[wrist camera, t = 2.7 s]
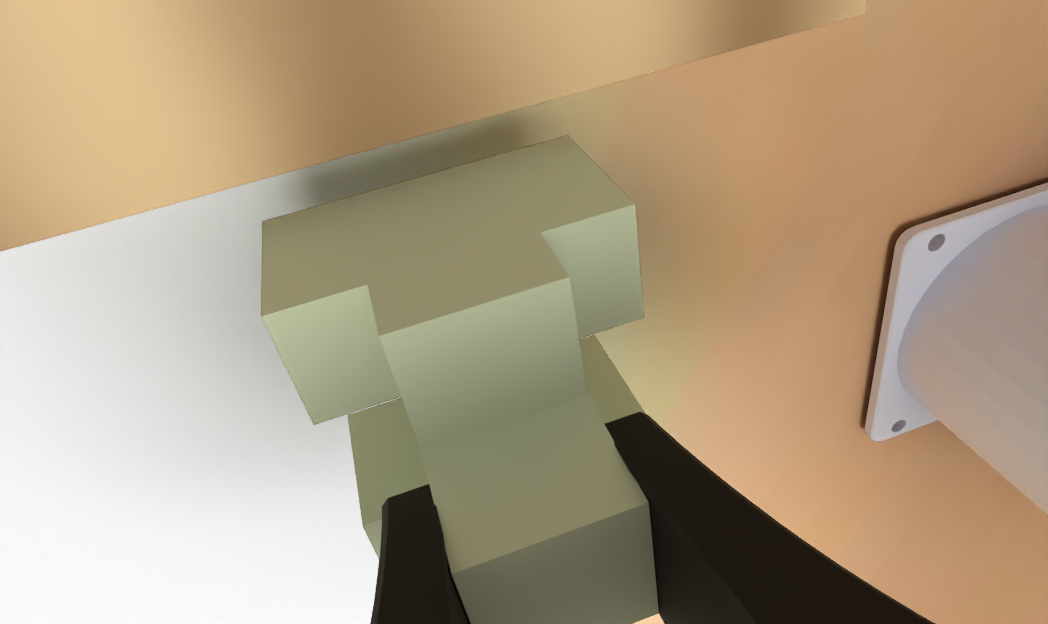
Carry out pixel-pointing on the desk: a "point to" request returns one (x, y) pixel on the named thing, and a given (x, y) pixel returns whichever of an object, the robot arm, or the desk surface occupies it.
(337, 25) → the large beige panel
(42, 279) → the desk surface
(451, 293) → the pale green block
